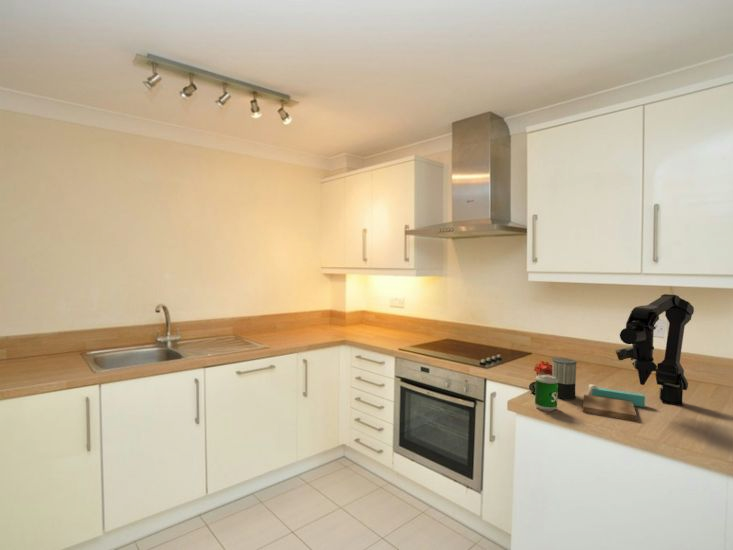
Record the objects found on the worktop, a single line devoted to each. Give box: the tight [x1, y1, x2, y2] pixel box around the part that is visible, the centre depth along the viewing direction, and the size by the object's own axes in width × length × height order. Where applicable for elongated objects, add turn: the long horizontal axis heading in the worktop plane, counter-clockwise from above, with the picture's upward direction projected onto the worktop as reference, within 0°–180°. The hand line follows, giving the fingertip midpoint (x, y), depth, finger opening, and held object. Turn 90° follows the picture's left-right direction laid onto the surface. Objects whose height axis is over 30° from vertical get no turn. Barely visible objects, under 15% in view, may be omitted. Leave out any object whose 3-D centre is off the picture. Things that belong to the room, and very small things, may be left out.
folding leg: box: [588, 384, 646, 408], centre depth 154 cm, size 18×3×5 cm, turn 61°
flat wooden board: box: [582, 394, 638, 422], centre depth 146 cm, size 16×16×2 cm
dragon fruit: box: [533, 360, 553, 377], centre depth 187 cm, size 8×8×12 cm
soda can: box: [534, 374, 558, 412], centre depth 146 cm, size 8×8×12 cm
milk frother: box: [528, 357, 578, 400], centre depth 162 cm, size 14×16×15 cm
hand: (642, 384), depth 145 cm, fingers closed
